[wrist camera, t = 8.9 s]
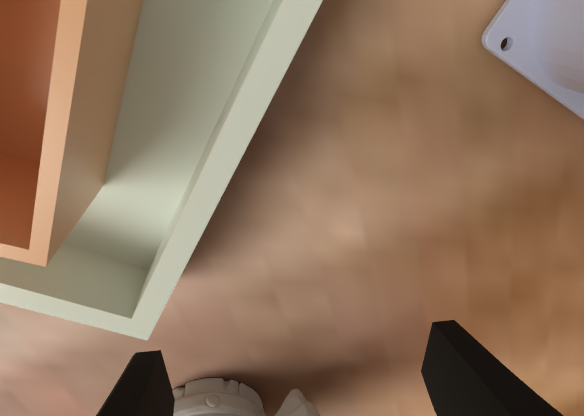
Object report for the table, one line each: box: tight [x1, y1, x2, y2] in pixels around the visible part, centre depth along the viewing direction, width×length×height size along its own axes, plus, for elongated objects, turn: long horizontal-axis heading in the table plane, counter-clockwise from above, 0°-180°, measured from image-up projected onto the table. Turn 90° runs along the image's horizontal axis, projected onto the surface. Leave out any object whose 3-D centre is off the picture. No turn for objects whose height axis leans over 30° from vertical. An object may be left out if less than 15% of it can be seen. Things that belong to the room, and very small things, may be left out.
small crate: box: [0, 0, 143, 267], centre depth 11 cm, size 5×8×6 cm, turn 157°
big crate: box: [0, 0, 323, 340], centre depth 13 cm, size 14×16×4 cm
